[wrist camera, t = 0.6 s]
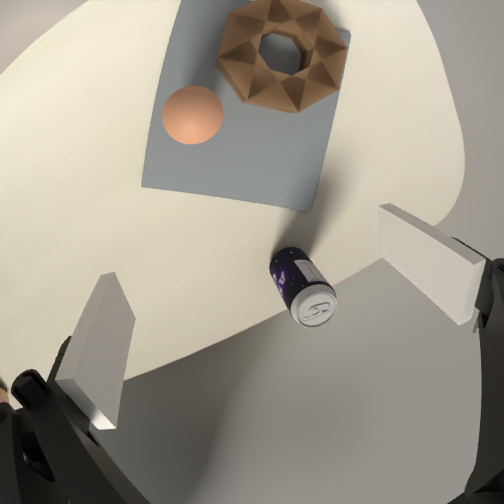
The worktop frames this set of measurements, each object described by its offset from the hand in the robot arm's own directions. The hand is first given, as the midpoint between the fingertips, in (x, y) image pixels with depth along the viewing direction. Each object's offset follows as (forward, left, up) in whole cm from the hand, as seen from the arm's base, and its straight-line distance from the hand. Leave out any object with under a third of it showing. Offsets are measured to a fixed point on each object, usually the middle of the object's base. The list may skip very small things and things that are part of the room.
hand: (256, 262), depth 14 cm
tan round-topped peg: (-4, +6, -24) cm, 25 cm away
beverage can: (+12, -11, -25) cm, 30 cm away
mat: (+2, +10, -24) cm, 27 cm away
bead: (+4, +16, -24) cm, 29 cm away
